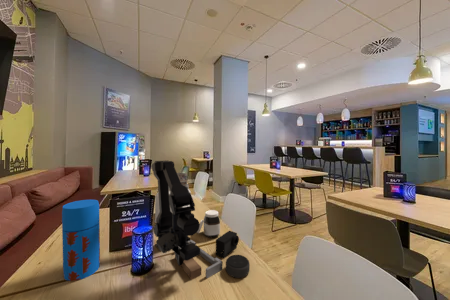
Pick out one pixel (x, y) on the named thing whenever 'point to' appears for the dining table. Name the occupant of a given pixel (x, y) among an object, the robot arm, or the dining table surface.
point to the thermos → (80, 239)
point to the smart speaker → (237, 266)
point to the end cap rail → (215, 263)
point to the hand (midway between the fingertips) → (180, 265)
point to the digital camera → (226, 244)
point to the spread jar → (210, 224)
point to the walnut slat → (191, 268)
